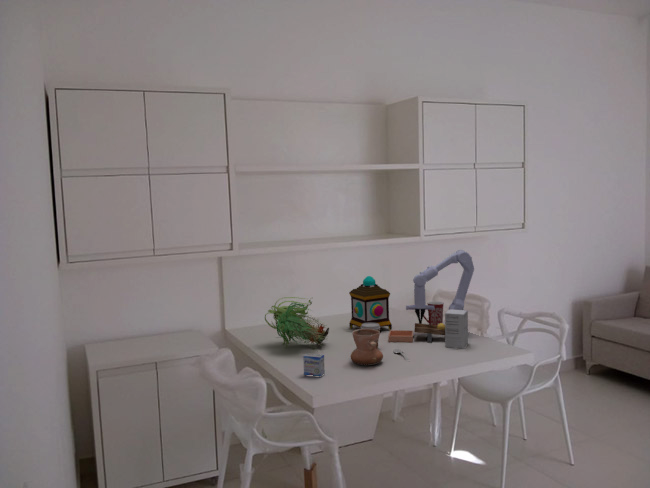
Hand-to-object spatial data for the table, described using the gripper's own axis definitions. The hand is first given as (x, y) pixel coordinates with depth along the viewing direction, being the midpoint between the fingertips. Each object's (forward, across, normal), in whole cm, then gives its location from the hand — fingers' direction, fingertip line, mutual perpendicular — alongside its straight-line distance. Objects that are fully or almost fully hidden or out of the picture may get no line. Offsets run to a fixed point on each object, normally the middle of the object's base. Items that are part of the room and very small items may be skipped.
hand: (420, 323), depth 294 cm
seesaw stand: (+6, -4, +8) cm, 11 cm away
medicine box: (+7, +44, +68) cm, 81 cm away
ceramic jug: (+7, +24, +50) cm, 55 cm away
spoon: (+7, +7, +40) cm, 41 cm away
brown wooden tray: (+3, -5, +6) cm, 8 cm away
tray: (+6, +10, +8) cm, 14 cm away
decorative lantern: (+7, +28, -12) cm, 31 cm away
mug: (+6, -6, -18) cm, 21 cm away
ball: (0, -10, +8) cm, 14 cm away
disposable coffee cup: (+7, +24, +28) cm, 37 cm away
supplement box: (+6, -18, +20) cm, 27 cm away
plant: (+7, +58, +28) cm, 65 cm away
